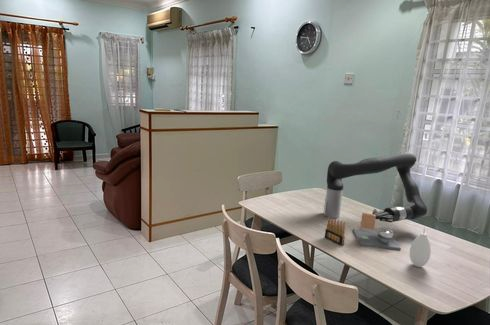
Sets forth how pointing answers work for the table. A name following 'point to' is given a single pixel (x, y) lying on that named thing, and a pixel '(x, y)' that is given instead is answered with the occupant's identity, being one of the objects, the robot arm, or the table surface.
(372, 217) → the twist collar
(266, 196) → the table surface
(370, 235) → the lock base
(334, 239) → the ammunition clip
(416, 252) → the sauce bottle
